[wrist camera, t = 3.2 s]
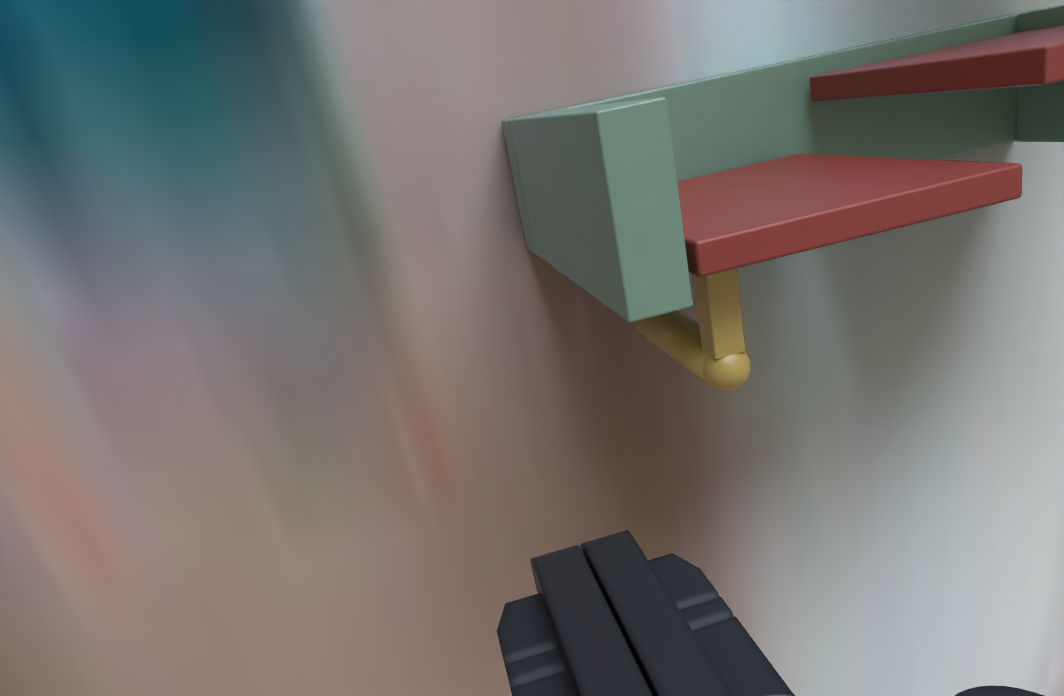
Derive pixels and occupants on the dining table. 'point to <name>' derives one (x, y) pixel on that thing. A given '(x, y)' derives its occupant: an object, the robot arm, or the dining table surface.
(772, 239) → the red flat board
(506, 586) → the dining table surface
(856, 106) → the green double frame
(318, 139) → the dining table surface
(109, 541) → the dining table surface
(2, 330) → the dining table surface
